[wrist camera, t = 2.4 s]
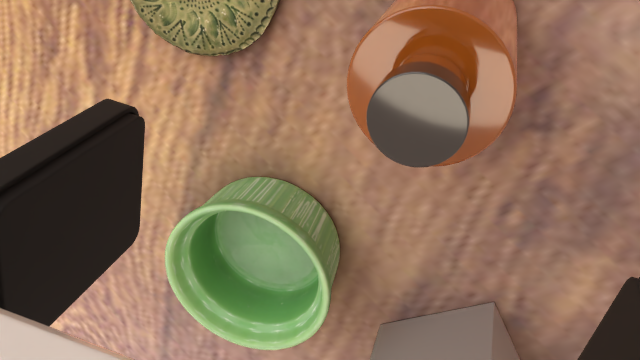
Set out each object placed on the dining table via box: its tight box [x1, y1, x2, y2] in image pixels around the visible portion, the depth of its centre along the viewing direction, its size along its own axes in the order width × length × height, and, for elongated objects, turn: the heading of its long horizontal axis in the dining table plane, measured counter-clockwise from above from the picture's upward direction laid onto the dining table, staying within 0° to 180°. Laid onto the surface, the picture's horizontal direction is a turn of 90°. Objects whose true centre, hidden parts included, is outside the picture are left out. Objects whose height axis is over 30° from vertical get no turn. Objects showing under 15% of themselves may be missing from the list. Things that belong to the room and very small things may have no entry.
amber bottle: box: [347, 0, 517, 167], centre depth 21 cm, size 5×5×11 cm
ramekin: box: [165, 177, 340, 350], centre depth 31 cm, size 9×9×4 cm
